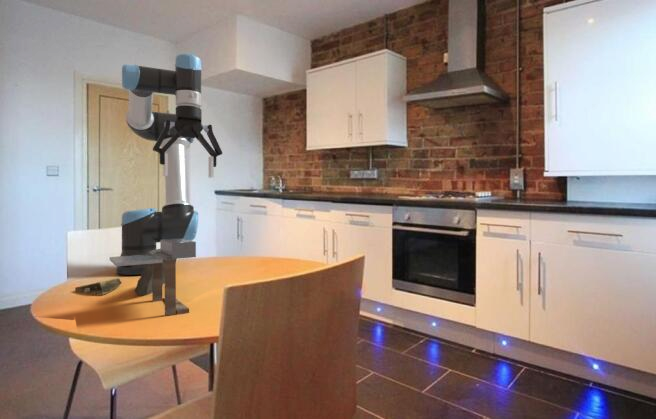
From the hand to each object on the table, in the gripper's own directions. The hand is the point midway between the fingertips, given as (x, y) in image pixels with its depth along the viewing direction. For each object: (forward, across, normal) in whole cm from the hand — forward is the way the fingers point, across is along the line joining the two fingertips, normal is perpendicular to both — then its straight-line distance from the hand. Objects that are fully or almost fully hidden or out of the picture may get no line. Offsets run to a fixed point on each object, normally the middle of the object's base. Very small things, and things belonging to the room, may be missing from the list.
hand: (188, 176), depth 124 cm
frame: (+36, -10, -13) cm, 40 cm away
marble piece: (+36, -10, +5) cm, 38 cm away
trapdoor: (+22, -10, -13) cm, 28 cm away
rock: (+38, -28, +17) cm, 50 cm away
